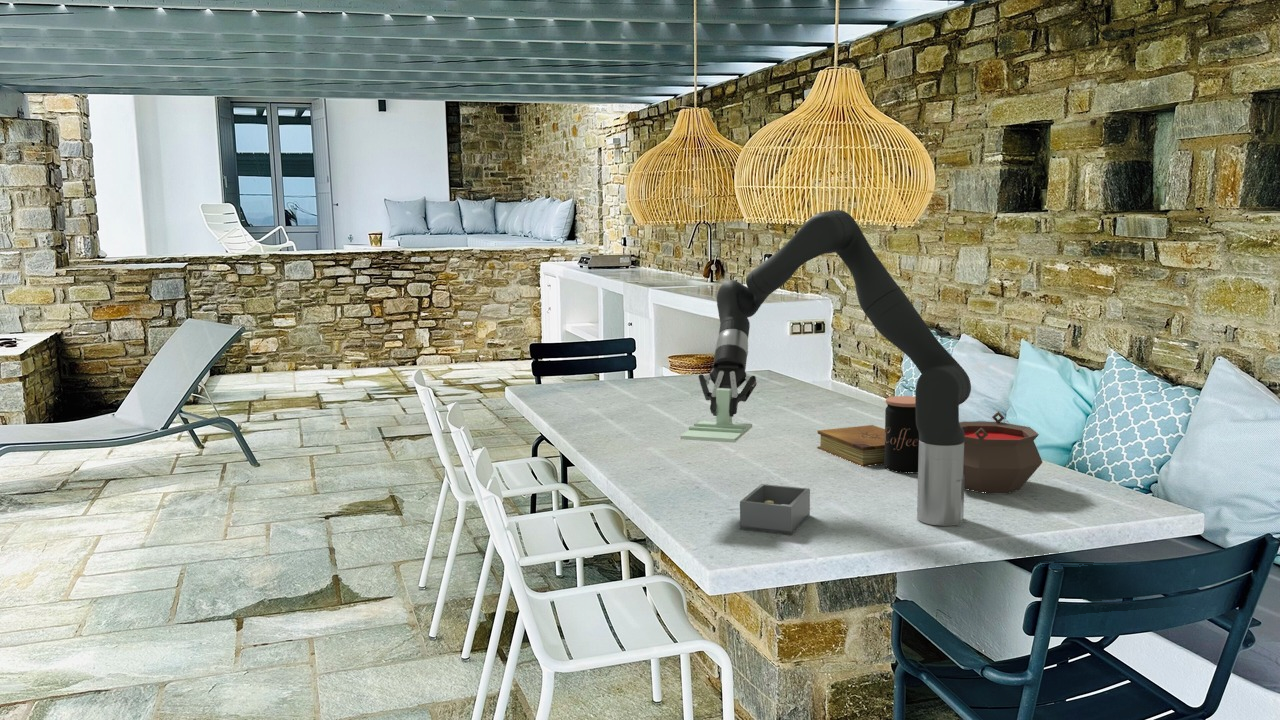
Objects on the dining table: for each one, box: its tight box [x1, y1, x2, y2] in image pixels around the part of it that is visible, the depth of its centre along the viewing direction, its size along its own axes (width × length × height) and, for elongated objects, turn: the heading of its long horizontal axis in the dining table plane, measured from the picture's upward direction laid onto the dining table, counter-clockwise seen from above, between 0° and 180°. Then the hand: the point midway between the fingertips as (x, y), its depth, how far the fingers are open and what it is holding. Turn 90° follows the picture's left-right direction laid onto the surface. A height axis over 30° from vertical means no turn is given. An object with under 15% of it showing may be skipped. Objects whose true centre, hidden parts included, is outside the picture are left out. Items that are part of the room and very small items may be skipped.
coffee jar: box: [883, 395, 919, 474], centre depth 258 cm, size 11×11×18 cm
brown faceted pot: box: [959, 411, 1043, 494], centre depth 241 cm, size 24×24×16 cm
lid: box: [679, 388, 753, 444], centre depth 222 cm, size 12×16×9 cm
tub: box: [739, 483, 811, 536], centre depth 215 cm, size 11×15×6 cm
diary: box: [816, 424, 885, 467], centre depth 275 cm, size 23×19×6 cm
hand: (722, 414), depth 226 cm, fingers closed on lid, 3 cm apart
